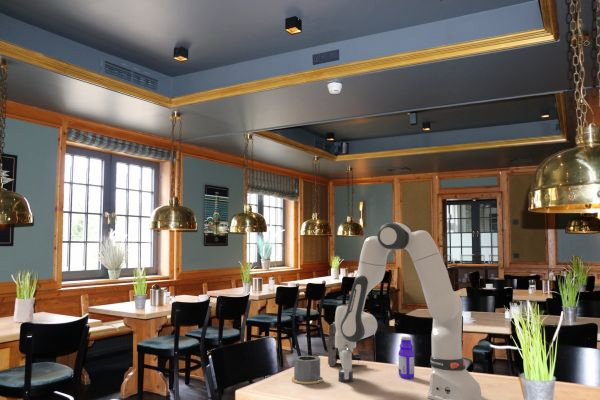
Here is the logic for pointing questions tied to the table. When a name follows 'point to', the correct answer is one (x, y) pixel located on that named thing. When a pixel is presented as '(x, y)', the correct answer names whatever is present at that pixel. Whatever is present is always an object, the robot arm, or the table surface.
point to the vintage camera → (332, 350)
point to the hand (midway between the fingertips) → (345, 376)
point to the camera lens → (341, 376)
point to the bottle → (406, 358)
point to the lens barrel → (307, 370)
